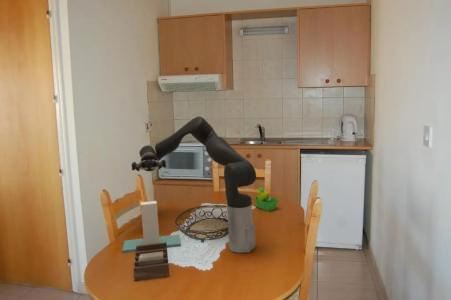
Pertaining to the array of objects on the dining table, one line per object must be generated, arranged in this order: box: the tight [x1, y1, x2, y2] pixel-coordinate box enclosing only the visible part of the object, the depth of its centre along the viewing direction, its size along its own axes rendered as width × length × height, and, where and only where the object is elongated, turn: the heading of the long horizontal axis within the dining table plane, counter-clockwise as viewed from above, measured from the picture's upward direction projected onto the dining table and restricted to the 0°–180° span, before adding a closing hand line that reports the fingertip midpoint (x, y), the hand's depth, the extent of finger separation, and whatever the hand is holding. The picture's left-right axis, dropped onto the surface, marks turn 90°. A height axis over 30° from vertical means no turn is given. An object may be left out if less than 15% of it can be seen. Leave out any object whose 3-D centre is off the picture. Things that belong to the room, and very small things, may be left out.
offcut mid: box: [139, 253, 163, 258], centre depth 127 cm, size 2×8×4 cm, turn 101°
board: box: [121, 234, 182, 254], centre depth 149 cm, size 10×22×2 cm, turn 101°
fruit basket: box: [253, 187, 279, 212], centre depth 190 cm, size 11×9×11 cm
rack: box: [133, 242, 170, 282], centre depth 130 cm, size 19×11×5 cm, turn 11°
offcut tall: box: [138, 256, 164, 267], centre depth 123 cm, size 2×8×6 cm, turn 101°
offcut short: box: [140, 251, 163, 256], centre depth 132 cm, size 2×8×4 cm, turn 101°
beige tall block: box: [140, 200, 160, 245], centre depth 148 cm, size 4×6×16 cm, turn 101°
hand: (148, 167), depth 154 cm, fingers open, 8 cm apart
